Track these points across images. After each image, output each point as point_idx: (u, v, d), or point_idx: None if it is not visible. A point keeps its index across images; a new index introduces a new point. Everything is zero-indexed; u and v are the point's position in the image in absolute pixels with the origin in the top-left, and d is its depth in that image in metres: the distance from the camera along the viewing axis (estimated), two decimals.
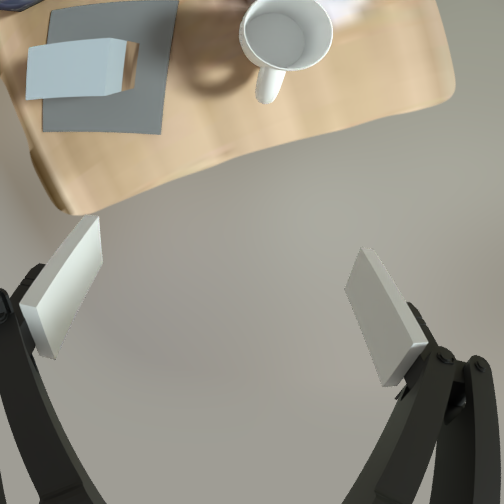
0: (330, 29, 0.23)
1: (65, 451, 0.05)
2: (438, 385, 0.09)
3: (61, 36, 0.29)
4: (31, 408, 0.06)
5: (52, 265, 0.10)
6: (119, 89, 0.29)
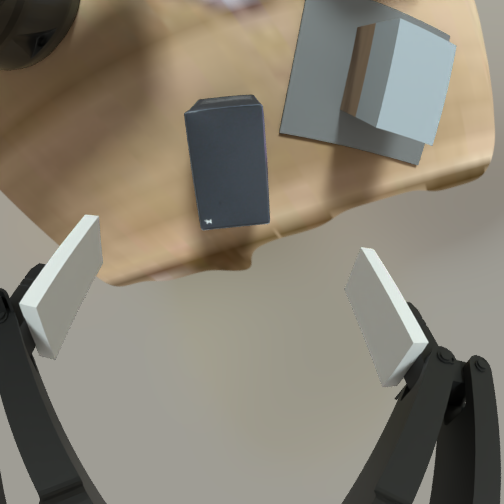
0: None
1: (65, 451, 0.05)
2: (438, 385, 0.09)
3: (322, 119, 0.32)
4: (31, 408, 0.06)
5: (52, 265, 0.10)
6: None
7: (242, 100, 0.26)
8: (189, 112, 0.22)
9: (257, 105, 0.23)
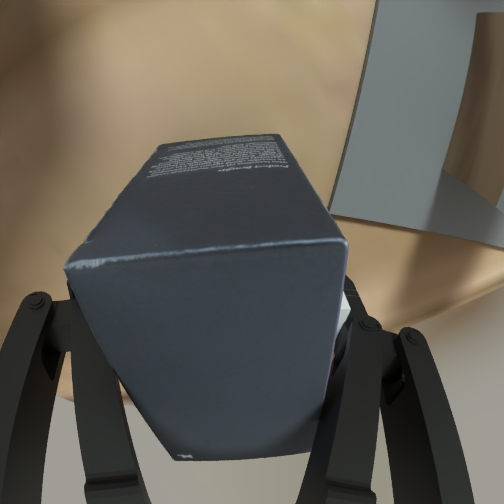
0: None
1: (127, 442, 0.06)
2: (367, 356, 0.10)
3: (410, 188, 0.16)
4: (102, 393, 0.07)
5: None
6: None
7: (262, 178, 0.09)
8: (76, 266, 0.06)
9: (330, 242, 0.06)
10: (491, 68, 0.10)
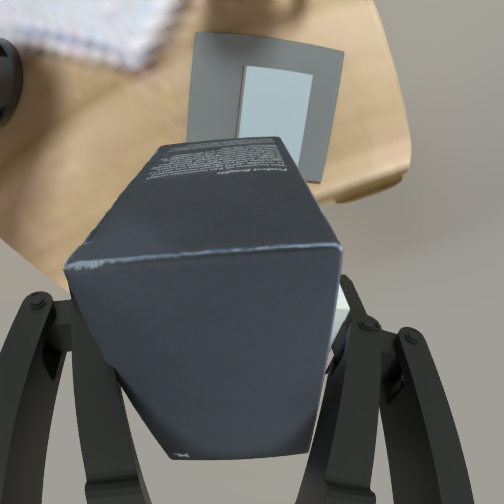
0: None
1: (128, 442, 0.06)
2: (366, 356, 0.10)
3: None
4: (103, 393, 0.07)
5: None
6: None
7: (260, 181, 0.09)
8: (75, 267, 0.06)
9: (324, 247, 0.06)
10: (240, 95, 0.34)
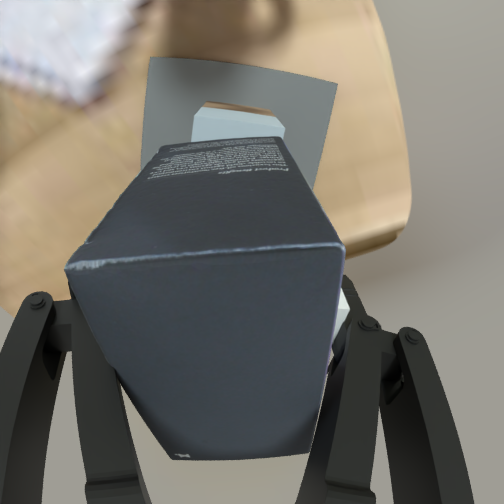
0: None
1: (128, 442, 0.06)
2: (366, 356, 0.10)
3: None
4: (103, 393, 0.07)
5: None
6: (273, 117, 0.24)
7: (262, 181, 0.09)
8: (77, 267, 0.06)
9: (327, 247, 0.06)
10: None
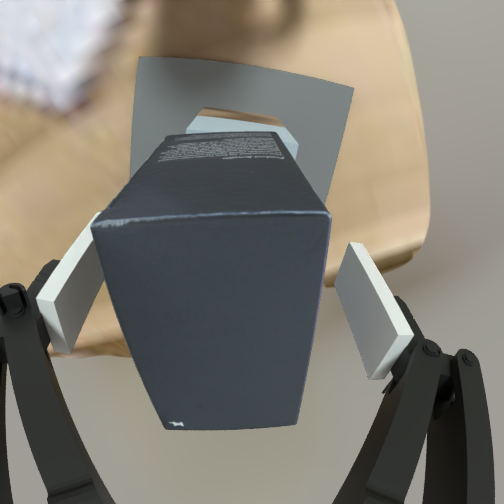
0: None
1: (77, 448, 0.05)
2: (425, 378, 0.09)
3: None
4: (44, 404, 0.06)
5: (68, 261, 0.11)
6: (282, 128, 0.20)
7: (261, 165, 0.10)
8: (102, 225, 0.07)
9: (316, 214, 0.08)
10: None
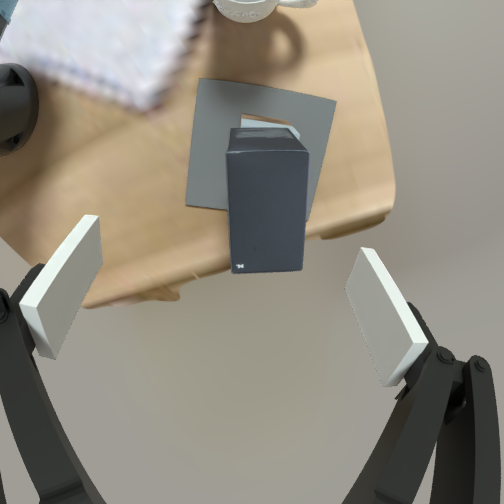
0: None
1: (65, 451, 0.05)
2: (438, 385, 0.09)
3: (216, 193, 0.45)
4: (31, 408, 0.06)
5: (52, 265, 0.10)
6: (291, 127, 0.35)
7: (283, 139, 0.25)
8: (231, 152, 0.22)
9: (304, 151, 0.22)
10: None
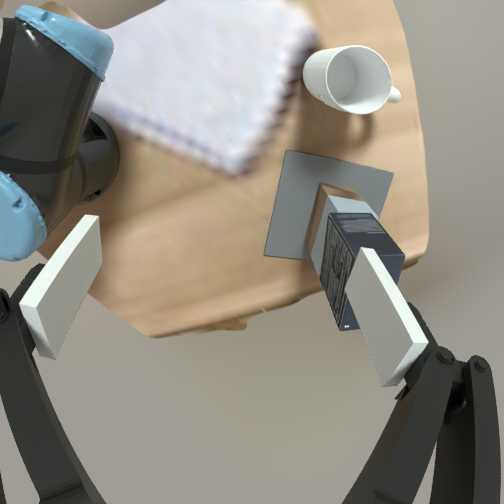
0: (357, 47, 0.27)
1: (65, 451, 0.05)
2: (438, 385, 0.09)
3: (292, 246, 0.54)
4: (31, 408, 0.06)
5: (52, 265, 0.10)
6: (365, 203, 0.44)
7: (382, 237, 0.34)
8: None
9: (402, 255, 0.31)
10: (316, 208, 0.48)
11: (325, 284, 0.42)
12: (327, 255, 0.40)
